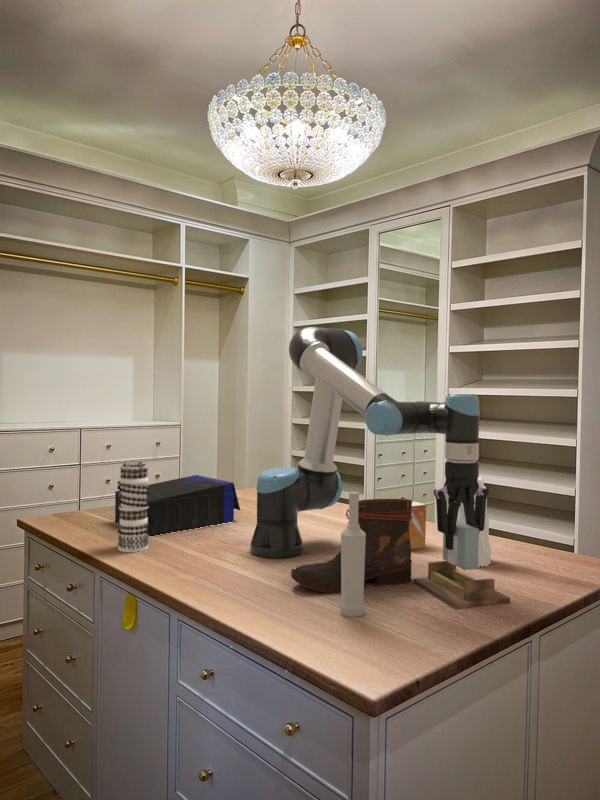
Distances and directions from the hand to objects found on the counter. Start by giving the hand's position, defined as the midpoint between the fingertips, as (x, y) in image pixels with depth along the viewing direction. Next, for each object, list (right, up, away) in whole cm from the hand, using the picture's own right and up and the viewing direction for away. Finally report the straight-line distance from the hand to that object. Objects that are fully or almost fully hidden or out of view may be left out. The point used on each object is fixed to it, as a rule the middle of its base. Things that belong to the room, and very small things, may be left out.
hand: (460, 562), depth 137 cm
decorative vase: (+9, -7, +25) cm, 28 cm away
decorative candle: (-85, -5, +34) cm, 92 cm away
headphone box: (-79, -5, +68) cm, 104 cm away
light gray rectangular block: (0, 0, 0) cm, 0 cm away
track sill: (0, -7, 0) cm, 7 cm away
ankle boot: (-25, -7, +6) cm, 26 cm away
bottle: (-26, -7, -14) cm, 30 cm away
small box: (-5, -7, +40) cm, 41 cm away
